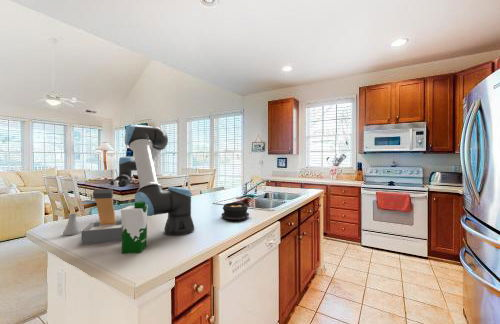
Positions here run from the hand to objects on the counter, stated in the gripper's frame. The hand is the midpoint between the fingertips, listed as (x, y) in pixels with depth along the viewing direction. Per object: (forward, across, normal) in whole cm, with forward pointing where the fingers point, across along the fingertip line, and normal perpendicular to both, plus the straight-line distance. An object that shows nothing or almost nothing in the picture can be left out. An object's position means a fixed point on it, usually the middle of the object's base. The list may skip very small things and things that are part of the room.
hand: (115, 184), depth 124 cm
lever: (+16, 0, -18) cm, 24 cm away
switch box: (+16, 0, -24) cm, 29 cm away
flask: (+3, +18, -24) cm, 31 cm away
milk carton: (+37, -13, -25) cm, 47 cm away
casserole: (-1, -69, -25) cm, 73 cm away
